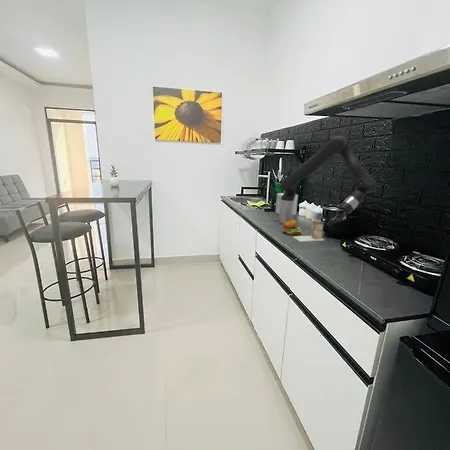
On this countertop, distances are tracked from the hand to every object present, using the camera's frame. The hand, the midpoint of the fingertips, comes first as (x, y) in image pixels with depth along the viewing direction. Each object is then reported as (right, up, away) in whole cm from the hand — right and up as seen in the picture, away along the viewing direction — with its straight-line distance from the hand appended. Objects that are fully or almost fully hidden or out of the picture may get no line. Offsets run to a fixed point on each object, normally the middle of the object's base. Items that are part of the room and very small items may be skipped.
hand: (328, 225), depth 152 cm
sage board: (-12, -8, -1) cm, 15 cm away
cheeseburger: (-19, -5, +10) cm, 22 cm away
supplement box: (-9, +10, +69) cm, 70 cm away
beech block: (-7, -7, 0) cm, 10 cm away
